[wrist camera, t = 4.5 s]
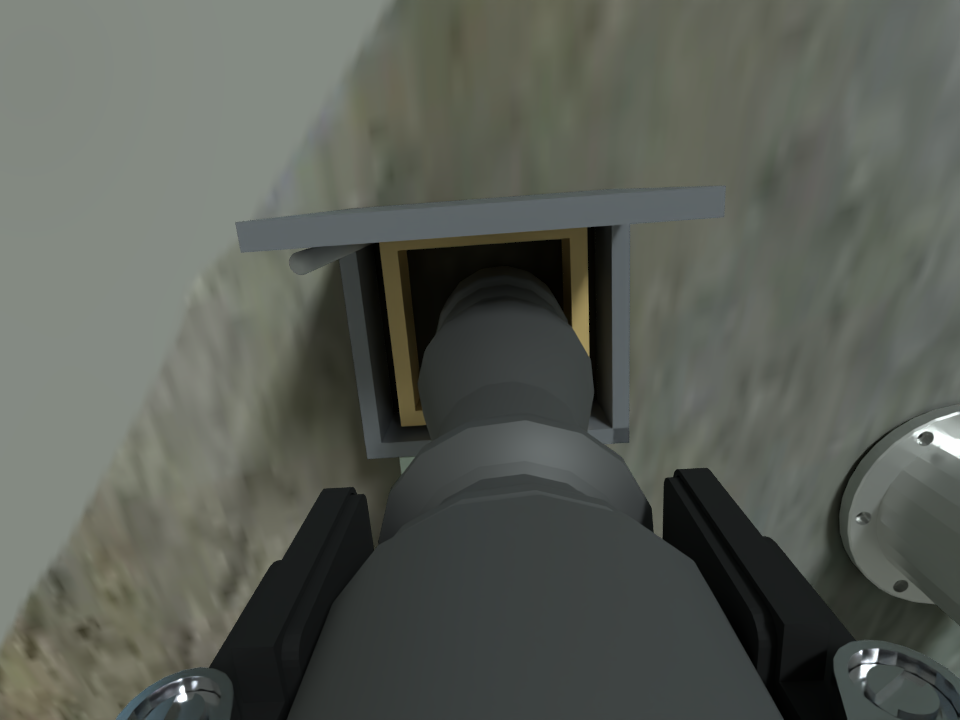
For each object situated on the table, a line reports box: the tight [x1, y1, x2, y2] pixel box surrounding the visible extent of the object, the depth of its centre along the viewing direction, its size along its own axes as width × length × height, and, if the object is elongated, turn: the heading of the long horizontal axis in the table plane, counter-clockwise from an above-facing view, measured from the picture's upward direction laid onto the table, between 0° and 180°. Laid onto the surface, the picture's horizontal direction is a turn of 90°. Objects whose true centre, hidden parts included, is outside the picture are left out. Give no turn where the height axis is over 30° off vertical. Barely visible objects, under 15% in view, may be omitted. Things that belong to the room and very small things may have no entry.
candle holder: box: [287, 265, 784, 720], centre depth 17 cm, size 6×6×25 cm
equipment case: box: [235, 186, 726, 459], centre depth 23 cm, size 13×12×14 cm
